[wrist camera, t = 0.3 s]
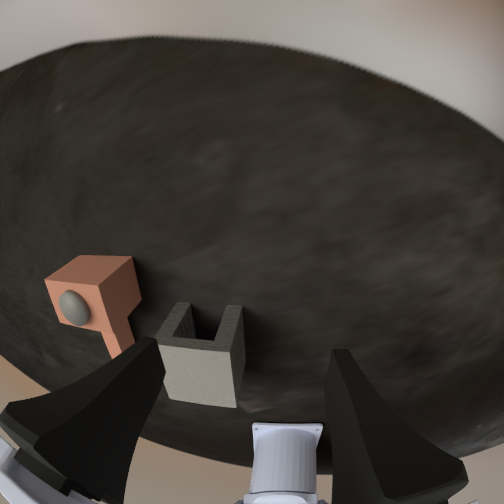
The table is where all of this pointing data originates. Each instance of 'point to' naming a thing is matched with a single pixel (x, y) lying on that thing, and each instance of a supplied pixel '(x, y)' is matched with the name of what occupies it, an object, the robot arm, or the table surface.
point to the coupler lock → (203, 358)
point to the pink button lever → (97, 297)
